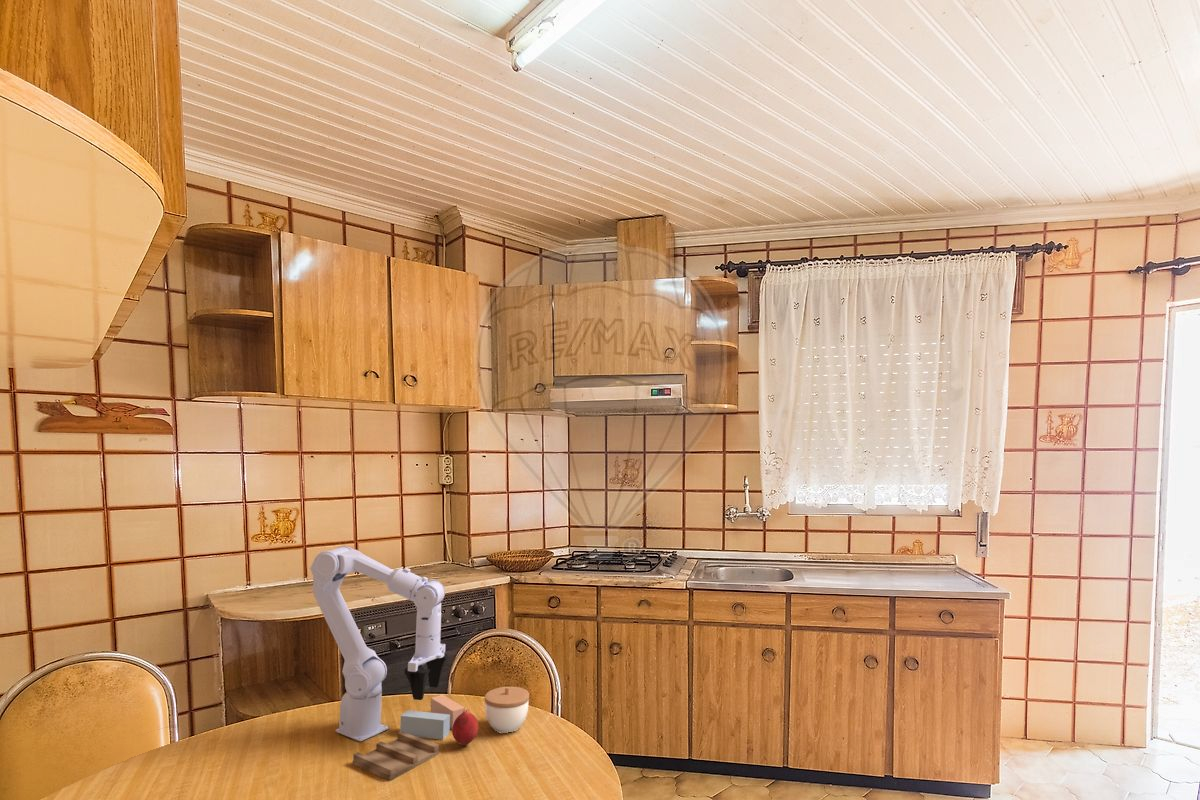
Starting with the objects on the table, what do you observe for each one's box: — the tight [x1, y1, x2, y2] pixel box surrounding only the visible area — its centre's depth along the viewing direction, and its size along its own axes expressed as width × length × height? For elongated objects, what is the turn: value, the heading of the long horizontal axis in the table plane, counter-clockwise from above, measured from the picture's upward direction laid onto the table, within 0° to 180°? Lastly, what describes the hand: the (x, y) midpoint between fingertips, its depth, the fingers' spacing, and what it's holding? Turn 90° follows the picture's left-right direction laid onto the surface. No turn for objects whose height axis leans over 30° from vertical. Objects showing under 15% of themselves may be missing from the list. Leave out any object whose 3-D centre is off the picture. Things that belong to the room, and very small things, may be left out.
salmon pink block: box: [430, 694, 466, 730], centre depth 148 cm, size 11×3×4 cm, turn 44°
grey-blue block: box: [399, 709, 451, 741], centre depth 141 cm, size 11×3×4 cm, turn 78°
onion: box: [451, 707, 479, 747], centre depth 136 cm, size 6×6×8 cm
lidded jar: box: [484, 686, 530, 734], centre depth 145 cm, size 11×11×9 cm
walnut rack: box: [352, 732, 440, 782], centre depth 129 cm, size 12×13×2 cm
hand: (426, 692), depth 142 cm, fingers open, 7 cm apart
